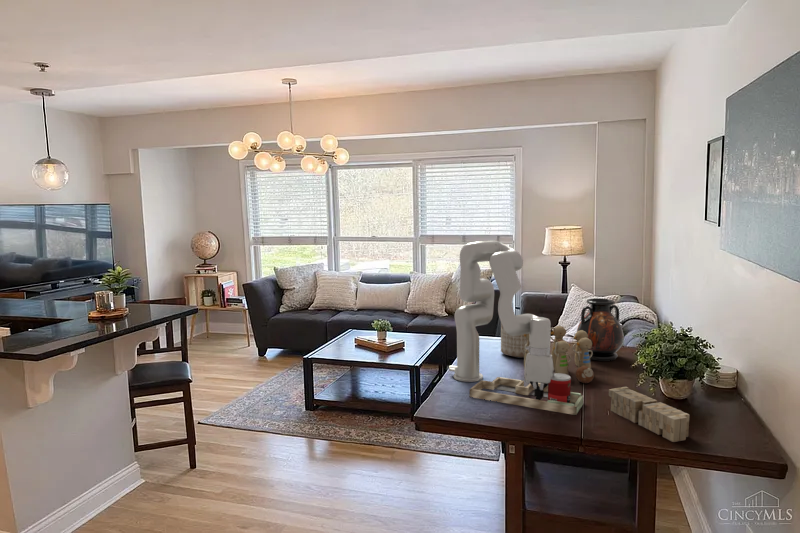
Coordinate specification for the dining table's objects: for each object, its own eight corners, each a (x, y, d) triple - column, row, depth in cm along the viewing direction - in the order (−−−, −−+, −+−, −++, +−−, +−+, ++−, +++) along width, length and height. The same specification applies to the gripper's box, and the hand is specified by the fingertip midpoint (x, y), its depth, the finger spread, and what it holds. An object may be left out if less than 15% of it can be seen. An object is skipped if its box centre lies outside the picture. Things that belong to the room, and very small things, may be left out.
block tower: (692, 442, 167) (625, 407, 194) (694, 416, 166) (626, 384, 193) (672, 445, 164) (607, 409, 192) (673, 419, 163) (608, 387, 191)
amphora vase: (608, 350, 272) (609, 296, 269) (632, 362, 250) (634, 303, 247) (568, 352, 269) (569, 297, 266) (588, 364, 247) (590, 304, 245)
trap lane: (469, 396, 206) (469, 387, 206) (487, 382, 224) (487, 373, 223) (576, 415, 187) (576, 405, 186) (587, 397, 204) (587, 388, 204)
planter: (545, 360, 256) (545, 326, 254) (504, 360, 256) (504, 326, 254) (535, 349, 275) (535, 318, 273) (497, 350, 275) (498, 318, 274)
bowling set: (563, 391, 211) (564, 341, 209) (518, 374, 234) (518, 329, 232) (627, 376, 229) (629, 330, 227) (580, 362, 252) (581, 319, 250)
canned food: (572, 409, 192) (572, 379, 191) (549, 408, 193) (550, 379, 192) (567, 401, 200) (568, 373, 199) (546, 401, 201) (546, 372, 200)
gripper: (516, 350, 198) (516, 398, 200) (557, 355, 191) (556, 405, 193) (522, 346, 205) (522, 392, 206) (562, 351, 197) (561, 399, 199)
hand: (538, 398), depth 200 cm, fingers closed
